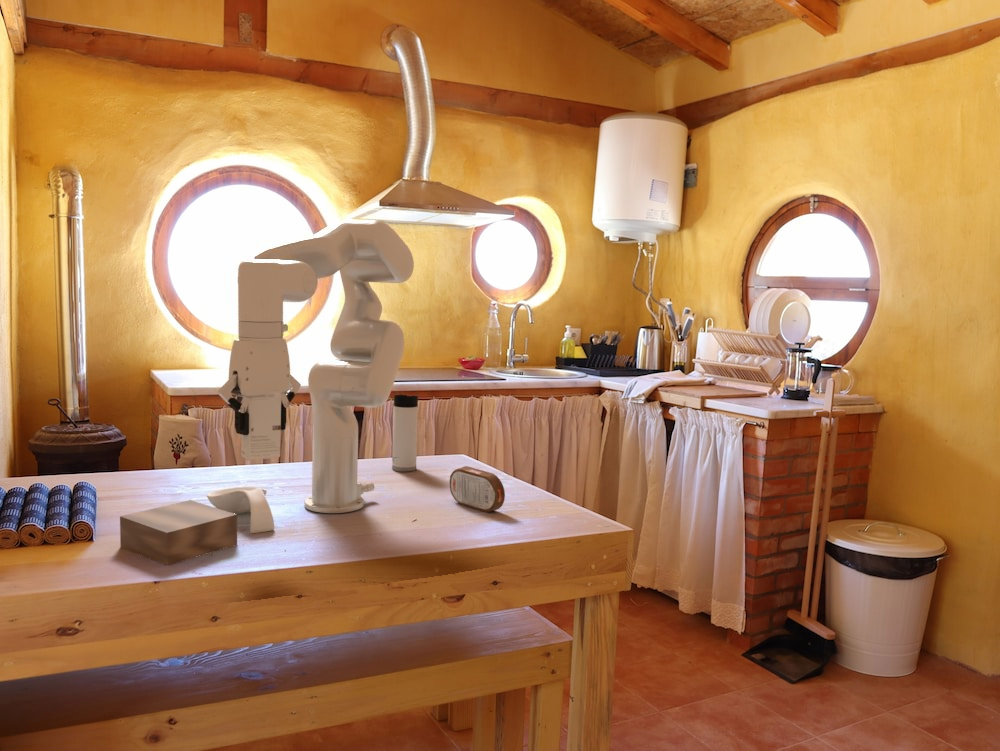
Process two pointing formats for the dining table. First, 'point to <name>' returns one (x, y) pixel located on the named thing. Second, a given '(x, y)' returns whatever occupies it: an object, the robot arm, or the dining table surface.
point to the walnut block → (178, 531)
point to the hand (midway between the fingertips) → (261, 430)
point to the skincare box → (263, 427)
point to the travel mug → (405, 433)
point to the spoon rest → (245, 505)
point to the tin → (477, 489)
